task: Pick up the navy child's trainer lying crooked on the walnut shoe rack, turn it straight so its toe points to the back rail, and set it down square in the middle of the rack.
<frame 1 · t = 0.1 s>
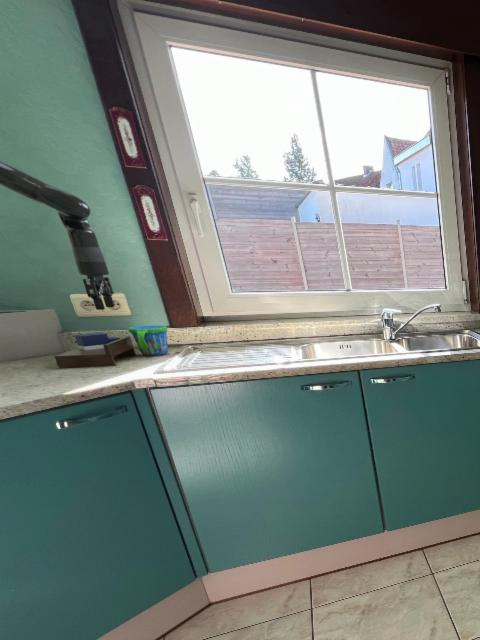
hand: (105, 308, 176), 17 cm above the worktop, tool pointing down, fingers open, 8 cm apart
trainer: (102, 347, 174), point 4 cm above the worktop, touching shoe rack
shoe rack: (100, 361, 171), on the worktop
snack cup: (155, 355, 185), on the worktop
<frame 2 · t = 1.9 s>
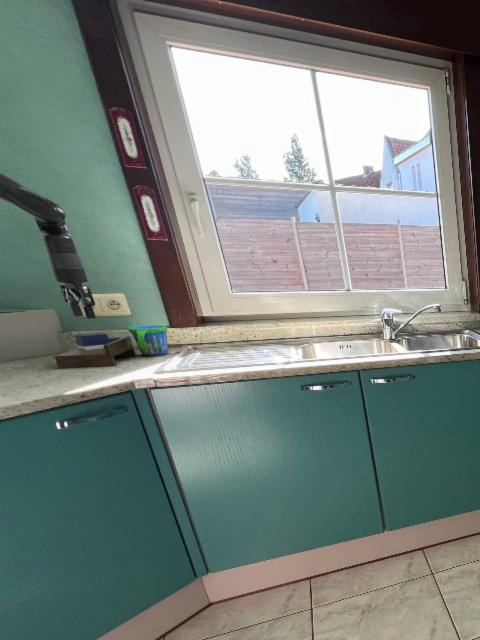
hand: (85, 317, 169), 15 cm above the worktop, tool pointing down, fingers open, 8 cm apart
nothing on the worktop moved.
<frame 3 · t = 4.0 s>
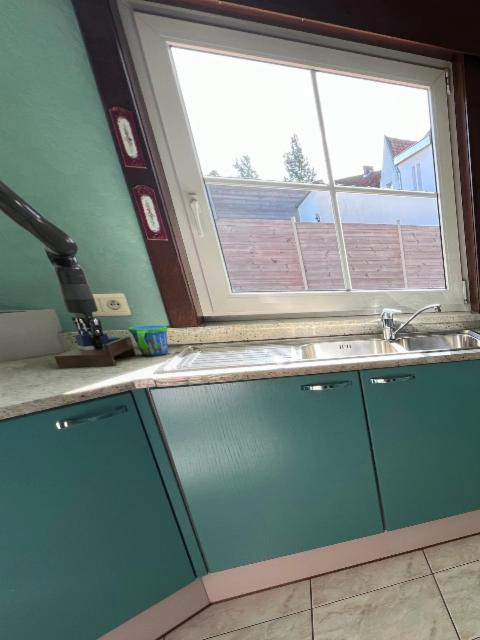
hand: (95, 347, 172), 4 cm above the worktop, tool pointing down, fingers closed on trainer, 4 cm apart
trainer: (102, 347, 174), point 4 cm above the worktop, touching gripper, shoe rack
everything else where it was.
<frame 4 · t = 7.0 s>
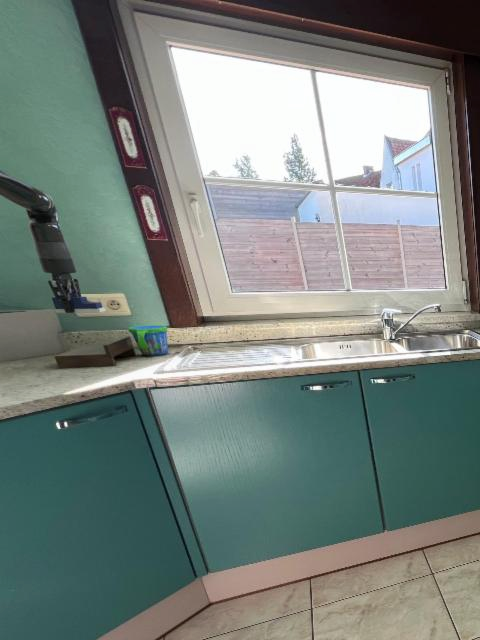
hand: (74, 311, 163), 17 cm above the worktop, tool pointing down, fingers closed on trainer, 4 cm apart
trainer: (81, 312, 164), point 17 cm above the worktop, touching gripper
everything else where it was.
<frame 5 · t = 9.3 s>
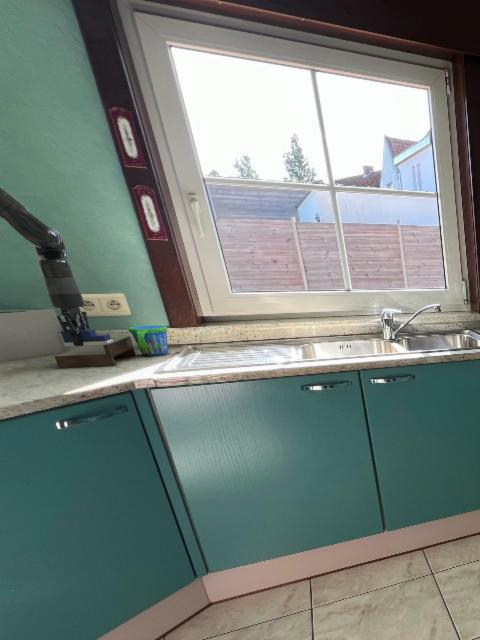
hand: (82, 344, 166), 6 cm above the worktop, tool pointing down, fingers closed on trainer, 4 cm apart
trainer: (90, 344, 166), point 6 cm above the worktop, touching gripper
everything else where it was.
when the fingers open (4 cm above the worktop, at t = 10.4 s): trainer stays where it is, resting on shoe rack.
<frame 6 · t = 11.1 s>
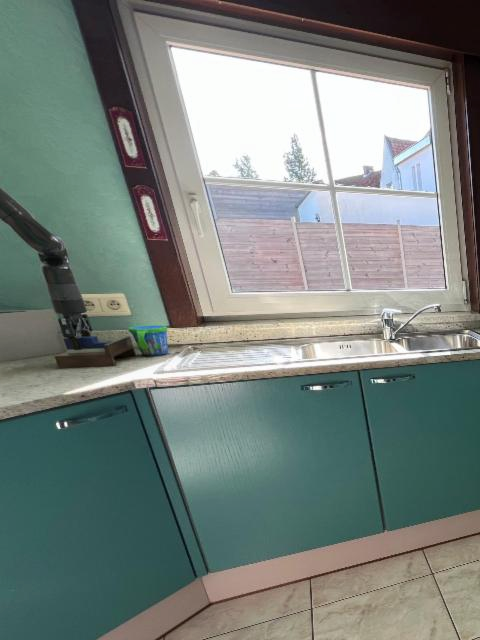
hand: (83, 347, 166), 5 cm above the worktop, tool pointing down, fingers open, 8 cm apart
trainer: (92, 351, 167), point 4 cm above the worktop, touching shoe rack
everything else where it was.
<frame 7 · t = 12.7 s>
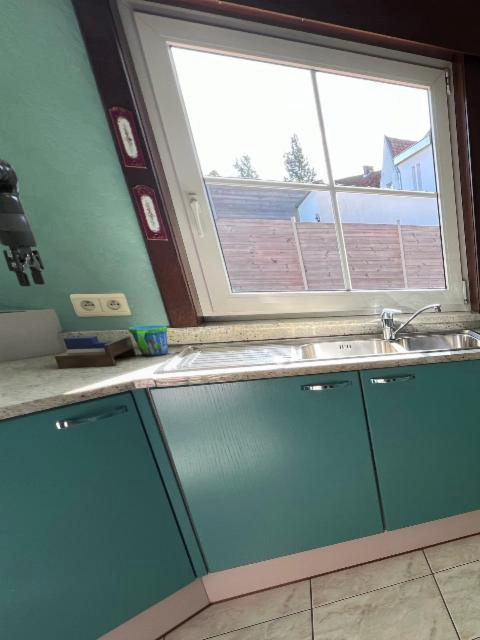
hand: (33, 285, 155), 26 cm above the worktop, tool pointing down, fingers open, 8 cm apart
nothing on the worktop moved.
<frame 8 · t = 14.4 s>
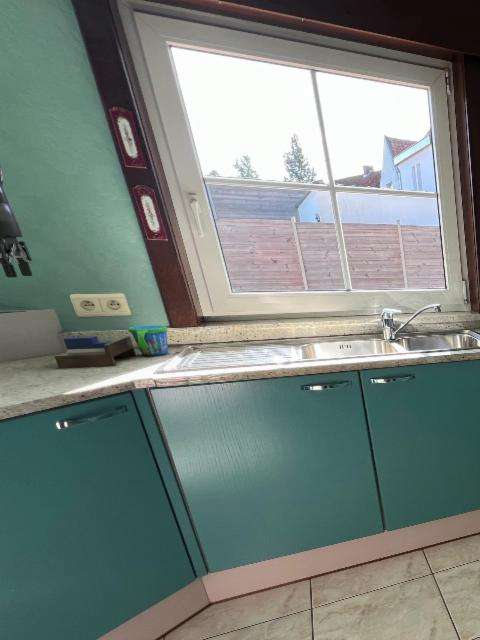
hand: (20, 276, 153), 28 cm above the worktop, tool pointing down, fingers open, 8 cm apart
nothing on the worktop moved.
at the end: trainer 0.1 cm from the target spot, point 4.0 cm above the worktop; trainer tilted 0°; the gripper is holding nothing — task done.
